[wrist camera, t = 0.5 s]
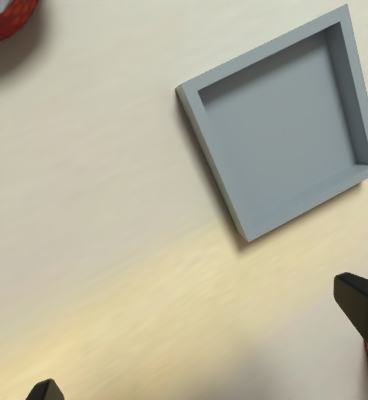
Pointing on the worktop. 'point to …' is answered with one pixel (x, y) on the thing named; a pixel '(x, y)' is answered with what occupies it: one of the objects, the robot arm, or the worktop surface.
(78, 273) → the worktop surface
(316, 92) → the tray
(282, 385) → the worktop surface
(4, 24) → the canned food
